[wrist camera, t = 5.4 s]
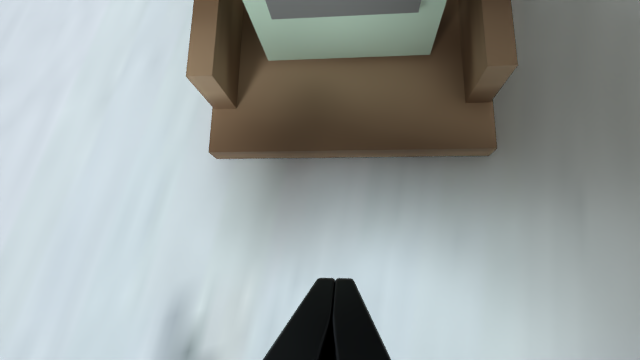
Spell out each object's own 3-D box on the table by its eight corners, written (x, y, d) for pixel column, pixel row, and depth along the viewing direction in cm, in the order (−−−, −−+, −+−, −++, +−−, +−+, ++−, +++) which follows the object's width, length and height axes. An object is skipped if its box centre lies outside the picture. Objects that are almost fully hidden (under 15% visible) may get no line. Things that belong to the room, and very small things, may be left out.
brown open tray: (489, 155, 17) (540, 107, 12) (216, 158, 18) (164, 116, 13) (470, -70, 20) (505, -182, 15) (234, -54, 21) (195, -153, 16)
